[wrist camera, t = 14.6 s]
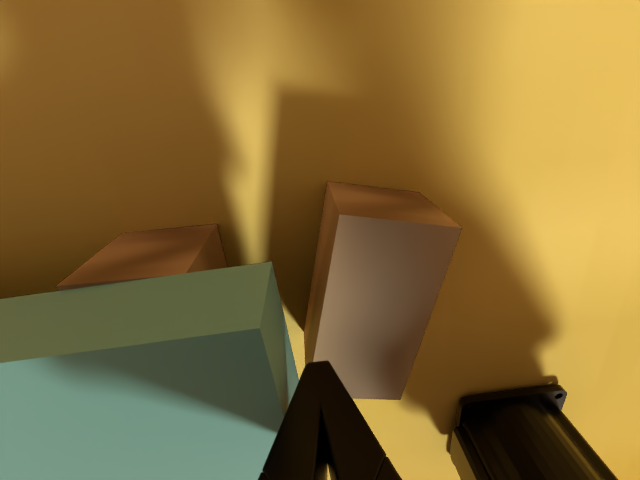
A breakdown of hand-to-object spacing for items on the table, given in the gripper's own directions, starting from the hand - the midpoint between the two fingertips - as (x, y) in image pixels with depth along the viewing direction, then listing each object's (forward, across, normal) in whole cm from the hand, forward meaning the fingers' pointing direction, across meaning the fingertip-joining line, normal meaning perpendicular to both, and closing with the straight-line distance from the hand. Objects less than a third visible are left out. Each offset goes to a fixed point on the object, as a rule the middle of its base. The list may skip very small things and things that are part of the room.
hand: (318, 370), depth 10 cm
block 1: (+6, -2, 0) cm, 6 cm away
